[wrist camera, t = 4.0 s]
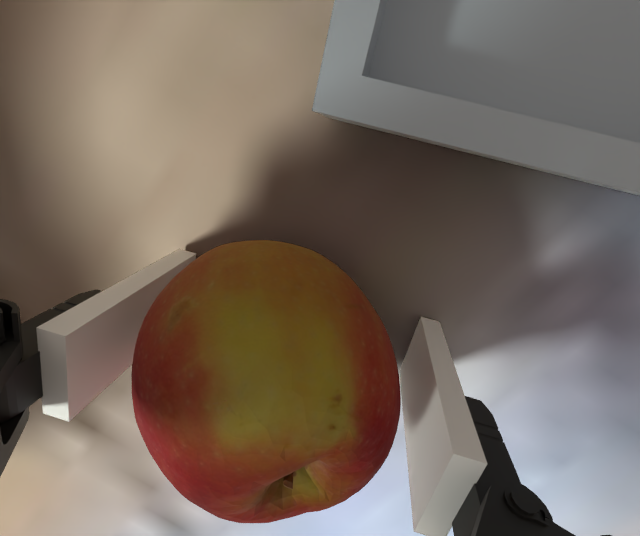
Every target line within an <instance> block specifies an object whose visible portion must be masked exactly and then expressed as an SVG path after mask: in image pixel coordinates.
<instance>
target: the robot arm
mask: <svg viewBox="0 0 640 536" xmlns="http://www.w3.org/2000/svg"><path fill="white" fill-rule="evenodd" d="M195 259H196V253H193V252H189V251H185V250H182V249H178V250H176V251H174V252H172V253H171V254H169V255H167V256H165V257H163V258H161V259H160V260H158V261H156V262H154V263H152V264H151V265H149V266H147V267H145V268H143V269H142V270H140V271H138V272H136V273H134V274H132V275H131V276H129V277H127V278H125V279H123V280H122V281H120V282H118V283H116V284H114V285H113V286H111V287H109V288H107V289H105V290H103V291H100V290H93V291H89V292H85V293H81V294H78V295H76V296H74V297H72V298H70V299H68V300H66V301H65V303H61V304H59V305H57V306H55V307H53V309H49V310H47V311H45V312H43V313H41V314H39V315H38V316H36V317H34V318H32V319H30V320H28V321H26V322H24V323H22V324H21V322H20V312H19V307H18V306H17V305H16V303H14V302H11V301H8V300H3V299H0V476H1V474H2V472H3V470H4V468H5V466H6V464H7V462H8V460H9V458H10V456H11V454H12V452H13V450H14V448H15V446H16V444H17V442H18V440H19V437H20V435H21V433H22V431H23V429H24V427H25V425H26V423H27V421H28V417H29V406H30V405H31V404H33V403H34V402H35V401H37V400H38V399H39V398H41V397H42V407H43V414H46V415H49V416H53V417H56V418H59V419H62V420H65V421H68V422H69V421H70V420H71V419H73V418H74V417H75V416H76V415H77V414H78V413H79V412H80V411H81V410H82V409H84V408H85V407H86V406H87V405H88V404H89V403H90V402H91V401H92V400H93V399H94V398H96V397H97V396H98V395H99V394H100V393H101V392H102V391H103V390H104V389H105V388H106V387H108V386H109V385H110V384H111V383H112V382H113V381H114V380H115V379H116V378H117V377H118V376H120V375H121V374H122V373H123V372H124V371H125V370H126V369H127V368H128V367H129V366H130V365H132V364H133V355H134V349H135V344H136V341H137V337H138V333H139V330H140V328H141V325H142V323H143V320H144V318H145V316H146V314H147V312H148V310H149V309H150V307H151V305H152V304H153V302H154V301H155V299H156V297H157V296H158V295H159V294H160V292H161V291H162V290H163V289H164V288H165V287H166V285H167V284H168V283H169V282H170V281H171V280H172V279H173V278H174V277H175V276H176V275H177V274H178V273H179V272H181V271H182V270H183V269H184V268H185V267H186V266H188V265H189V264H190V263H191V262H192V261H194V260H195ZM399 373H400V384H401V395H402V406H403V417H404V428H405V440H406V451H407V462H408V473H409V484H410V495H411V506H412V517H413V528H414V532H417V533H420V534H423V535H426V536H447V534H448V532H449V531H450V529H451V527H453V532H454V536H575V535H574V534H572V533H570V532H568V531H567V530H565V529H563V528H562V527H560V526H558V525H557V524H555V523H554V522H553V519H552V516H551V514H550V513H549V511H548V509H547V507H546V506H545V504H544V503H543V502H542V501H541V500H540V499H539V498H538V496H537V495H536V494H534V493H533V492H532V491H531V490H529V489H528V488H527V487H526V486H524V485H522V484H521V482H520V480H519V477H518V475H517V473H516V470H515V468H514V465H513V463H512V461H511V458H510V456H509V453H508V451H507V449H506V446H505V444H504V443H503V439H502V436H501V434H500V432H499V431H498V427H497V424H496V422H495V420H494V417H493V415H492V413H491V412H490V411H489V410H488V409H487V407H486V406H485V405H484V404H483V403H482V401H480V400H477V399H473V398H470V397H466V396H464V393H463V390H462V387H461V384H460V381H459V378H458V375H457V372H456V369H455V366H454V363H453V360H452V357H451V354H450V351H449V348H448V345H447V342H446V339H445V336H444V333H443V330H442V327H441V324H440V322H439V321H435V320H432V319H428V318H425V317H420V320H419V322H418V325H417V327H416V330H415V332H414V335H413V338H412V340H411V343H410V345H409V348H408V351H407V353H406V356H405V358H404V361H403V363H402V366H401V369H400V371H399ZM600 536H611V535H600Z"/></svg>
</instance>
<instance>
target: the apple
mask: <svg viewBox="0 0 640 536" xmlns="http://www.w3.org/2000/svg"><path fill="white" fill-rule="evenodd" d="M132 398H133V406H134V413H135V418H136V422H137V425H138V427H139V430H140V432H141V435H142V437H143V439H144V442H145V444H146V446H147V448H148V450H149V452H150V454H151V455H152V457H153V459H154V460H155V462H156V463H157V465H158V466H159V468H160V469H161V471H162V472H163V474H164V475H165V476H166V478H167V479H168V480H169V481H170V482H171V483H172V485H173V486H174V487H175V488H176V489H177V490H178V491H179V492H180V493H181V494H182V495H183V496H184V497H185V498H187V499H188V500H189V501H191V502H192V503H194V504H196V505H197V506H199V507H201V508H203V509H204V510H206V511H207V512H209V513H211V514H213V515H215V516H217V517H219V518H222V519H225V520H229V521H234V522H238V523H269V522H273V521H277V520H281V519H285V518H290V517H294V516H297V515H300V514H303V513H306V512H313V511H320V510H324V509H327V508H330V507H332V506H334V505H336V504H339V503H341V502H343V501H345V500H347V499H348V498H349V497H351V496H352V495H354V494H355V493H357V492H358V491H359V490H361V489H362V488H363V487H364V486H365V485H366V484H367V483H368V482H369V481H370V480H371V479H372V478H373V476H374V475H375V474H376V473H377V471H378V470H379V469H380V468H381V466H382V464H383V463H384V461H385V459H386V458H387V456H388V454H389V452H390V449H391V447H392V444H393V441H394V438H395V435H396V431H397V426H398V421H399V416H400V384H399V374H398V367H397V362H396V358H395V354H394V351H393V347H392V344H391V341H390V338H389V336H388V333H387V331H386V329H385V326H384V325H383V323H382V321H381V319H380V317H379V316H378V314H377V313H376V311H375V310H374V308H373V307H372V305H371V303H370V302H369V300H368V299H367V298H366V296H365V295H364V294H363V292H362V291H361V290H360V288H359V287H358V286H357V285H356V284H355V282H354V281H353V280H352V279H351V278H350V277H349V276H348V275H347V274H346V273H345V272H344V271H343V270H341V269H340V268H339V267H338V266H337V265H336V264H334V263H333V262H331V261H330V260H328V259H327V258H326V257H324V256H323V255H321V254H319V253H317V252H315V251H313V250H310V249H308V248H305V247H301V246H298V245H294V244H290V243H285V242H280V241H273V240H251V241H239V242H233V243H227V244H223V245H220V246H217V247H215V248H213V249H211V250H209V251H208V252H206V253H204V254H202V255H201V256H199V257H198V258H197V259H195V260H194V261H192V262H191V263H190V264H189V265H188V266H186V267H185V268H184V269H183V270H182V271H181V272H179V273H178V274H177V275H176V276H175V277H174V278H173V279H172V280H171V281H170V282H169V283H168V284H167V285H166V287H165V288H164V289H163V290H162V291H161V292H160V294H159V295H158V296H157V297H156V299H155V301H154V302H153V304H152V305H151V307H150V309H149V310H148V312H147V314H146V316H145V318H144V320H143V323H142V325H141V328H140V330H139V333H138V337H137V341H136V344H135V349H134V355H133V364H132Z"/></svg>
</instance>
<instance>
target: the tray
mask: <svg viewBox="0 0 640 536" xmlns="http://www.w3.org/2000/svg"><path fill="white" fill-rule="evenodd" d="M312 111H314V112H316V113H319V114H321V115H323V116H326V117H328V118H331V119H335V120H339V121H343V122H347V123H351V124H355V125H359V126H363V127H367V128H371V129H375V130H379V131H383V132H387V133H391V134H395V135H399V136H403V137H407V138H411V139H415V140H419V141H423V142H426V143H430V144H434V145H438V146H442V147H446V148H450V149H454V150H458V151H462V152H466V153H470V154H474V155H478V156H482V157H486V158H490V159H494V160H498V161H502V162H506V163H510V164H514V165H518V166H522V167H526V168H530V169H534V170H538V171H542V172H546V173H550V174H554V175H558V176H562V177H566V178H570V179H574V180H578V181H582V182H586V183H590V184H594V185H598V186H602V187H606V188H610V189H614V190H618V191H622V192H626V193H630V194H634V195H638V196H640V0H335V1H334V6H333V11H332V16H331V20H330V25H329V30H328V35H327V40H326V45H325V50H324V54H323V59H322V64H321V69H320V74H319V79H318V84H317V88H316V93H315V98H314V103H313V108H312Z"/></svg>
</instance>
